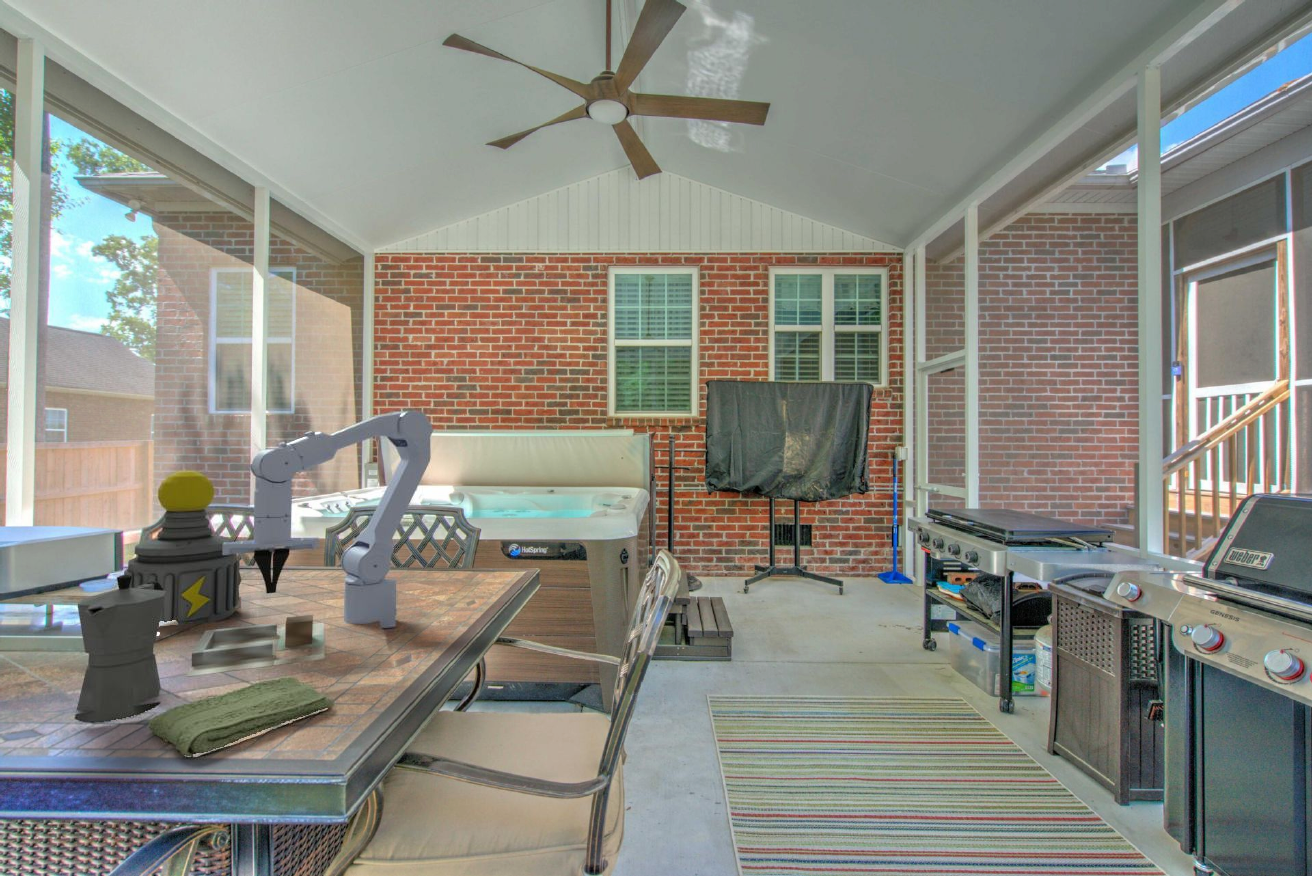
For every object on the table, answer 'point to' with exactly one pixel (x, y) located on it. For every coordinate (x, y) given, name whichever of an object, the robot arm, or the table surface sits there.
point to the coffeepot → (120, 651)
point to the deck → (248, 648)
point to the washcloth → (236, 714)
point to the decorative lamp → (188, 556)
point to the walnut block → (299, 630)
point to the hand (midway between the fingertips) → (271, 591)
